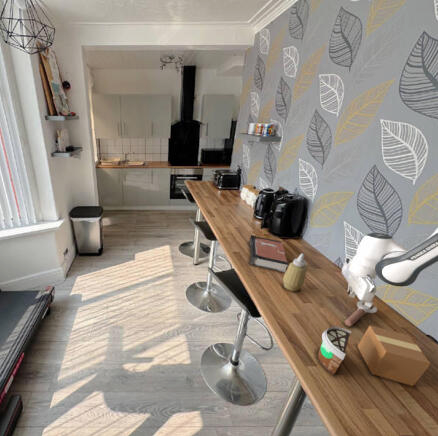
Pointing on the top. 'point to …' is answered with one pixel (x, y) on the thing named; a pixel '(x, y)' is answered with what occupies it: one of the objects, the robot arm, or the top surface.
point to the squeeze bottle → (295, 274)
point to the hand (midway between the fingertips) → (350, 295)
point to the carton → (392, 355)
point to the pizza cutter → (360, 312)
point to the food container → (333, 347)
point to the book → (267, 254)
